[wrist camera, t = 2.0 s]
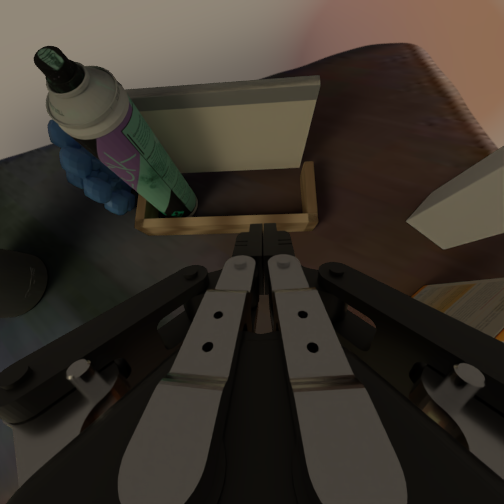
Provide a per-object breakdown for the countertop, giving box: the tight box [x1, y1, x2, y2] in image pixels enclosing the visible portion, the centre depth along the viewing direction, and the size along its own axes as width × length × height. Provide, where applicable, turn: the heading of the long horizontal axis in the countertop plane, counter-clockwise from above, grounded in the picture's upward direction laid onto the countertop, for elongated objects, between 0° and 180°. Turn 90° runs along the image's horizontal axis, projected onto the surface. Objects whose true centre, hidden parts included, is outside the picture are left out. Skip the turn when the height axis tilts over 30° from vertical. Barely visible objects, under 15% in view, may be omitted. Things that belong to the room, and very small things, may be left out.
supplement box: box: [411, 278, 504, 342], centre depth 20 cm, size 8×5×13 cm, turn 128°
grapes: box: [48, 120, 135, 215], centre depth 27 cm, size 12×7×12 cm, turn 22°
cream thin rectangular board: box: [125, 75, 320, 173], centre depth 26 cm, size 21×1×13 cm, turn 91°
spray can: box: [34, 46, 198, 218], centre depth 22 cm, size 6×6×20 cm
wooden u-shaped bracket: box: [134, 161, 318, 236], centre depth 30 cm, size 24×9×4 cm, turn 91°
